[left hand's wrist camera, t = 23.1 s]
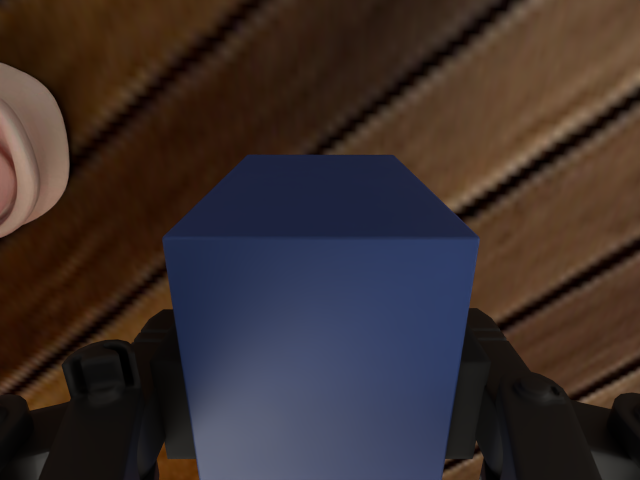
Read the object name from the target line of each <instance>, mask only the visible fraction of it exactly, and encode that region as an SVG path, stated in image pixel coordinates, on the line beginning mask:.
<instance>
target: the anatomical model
mask: <svg viewBox="0 0 640 480" xmlns="http://www.w3.org/2000/svg"><path fill="white" fill-rule="evenodd" d="M68 177H69V149H68V141H67V134H66V129H65V125H64V121H63V117H62V114H61V111H60V109H59V107H58V105H57V102H56V100H55V98H54V97H53V95H52V94H51V93H50V92H49V90H48V89H47V88H46V87H45V86H44V85H43V84H41V83H40V82H39V81H38V80H36V79H35V78H33V77H31V76H30V75H28V74H26V73H24V72H22V71H20V70H17V69H15V68H13V67H11V66H8V65H6V64H3V63H0V238H1V237H3V236H6V235H8V234H10V233H12V232H13V231H15V230H16V229H18V228H19V227H20V226H21V225H23V224H26V223H28V222H30V221H32V220H34V219H36V218H38V217H39V216H41V215H43V214H44V213H45V212H47V211H48V210H49V209H51V208H52V207H53V206H54V205H55V204H56V203H57V201H58V200H59V199H60V197H61V196H62V194H63V192H64V190H65V188H66V185H67V182H68Z"/></svg>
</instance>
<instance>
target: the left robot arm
mask: <svg viewBox="0 0 640 480" xmlns="http://www.w3.org/2000/svg"><path fill="white" fill-rule="evenodd" d="M62 368H63V372H64V375H65V379H66V382H67V386H68V389H69V393H70V396H71V400H70V401H69V402H66V403H62V404H58V405H54V406H49V407H45V408H40V409H36V410H31V411H30V410H29V408H28V405H27V402H26V400H25V399H23V398H22V397H21V396H18V395H11V394H8V395H1V396H0V480H159V470H158V464H157V457H158V455H159V452H160V450H161V448H162V445H163V443H164V442H165V447H166V452H167V458H168V459H196V453H195V447H194V440H193V434H192V427H191V421H190V414H189V408H188V401H187V395H186V389H185V382H184V376H183V369H182V363H181V356H180V350H179V343H178V337H177V331H176V324H175V318H174V311H173V309H163V310H162V311H160V312H159V313H158V314H156V315H155V316H153V317H152V318H150V319H149V320H148V322H147V323H146V324H145V326H144V327H143V328H142V330H141V333H139V334H138V335H137V337H136V338H135V339H134V342H132V343H131V344H130V343H129V342H127V341H122V340H104V341H100V342H96V343H92V344H90V345H87V346H85V347H83V348H80V349H78V350H77V351H76V352H74V353H73V354H71V355H70V356H68V358H67V359H66V360H65V361H64V363H63V364H62ZM476 441H477V443H478V445H479V447H480V450H481V452H482V454H483V457H484V459H483V464H482V469H481V474H480V478H479V480H640V394H638V393H625V394H620V395H619V396H618V397H617V398H615V400H614V403H613V406H612V409H607V408H603V407H598V406H594V405H589V404H585V403H580V402H577V401H573V400H570V399H569V397H568V395H567V394H566V393H565V391H564V390H563V388H561V387H560V386H559V385H558V384H556V383H555V382H554V381H553V380H551V379H549V378H547V377H545V376H543V375H541V374H537V373H533V372H531V371H530V370H529V369H528V367H527V366H526V364H525V363H524V362H523V360H522V359H521V358H520V356H519V355H518V354H517V352H516V351H515V350H514V348H513V347H512V345H511V344H510V343H509V341H507V340H506V337H505V336H504V335H503V333H502V332H501V331H500V329H499V328H498V326H497V325H496V324H495V322H494V321H493V320H492V318H491V317H489V316H488V315H486V314H485V313H483V312H482V311H480V310H479V309H477V308H469V310H468V317H467V323H466V329H465V336H464V342H463V348H462V355H461V361H460V367H459V374H458V380H457V386H456V393H455V399H454V405H453V412H452V418H451V424H450V430H449V437H448V443H447V449H446V456H445V459H473V454H474V449H475V443H476Z"/></svg>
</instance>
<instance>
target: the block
mask: <svg viewBox="0 0 640 480" xmlns="http://www.w3.org/2000/svg"><path fill="white" fill-rule="evenodd" d="M162 240H163V247H164V253H165V260H166V266H167V273H168V279H169V285H170V292H171V298H172V305H173V311H174V318H175V324H176V331H177V337H178V343H179V350H180V356H181V363H182V369H183V376H184V382H185V389H186V395H187V401H188V408H189V414H190V421H191V427H192V434H193V440H194V447H195V453H196V460H197V466H198V472H199V479H200V480H442V475H443V468H444V462H445V456H446V449H447V443H448V437H449V430H450V424H451V418H452V412H453V405H454V399H455V393H456V386H457V380H458V374H459V367H460V361H461V355H462V348H463V342H464V336H465V329H466V323H467V317H468V310H469V304H470V298H471V291H472V285H473V279H474V272H475V266H476V260H477V253H478V247H479V241H480V239H479V237H478V236H477V235H476V234H475V233H474V232H473V231H472V230H471V229H470V228H469V227H468V226H467V225H466V224H465V223H464V222H463V221H462V220H461V219H460V218H459V217H458V216H457V215H455V214H454V213H453V212H452V211H451V210H450V209H449V208H448V207H447V206H446V205H445V204H444V203H443V202H442V201H441V200H440V199H439V198H438V197H437V196H436V195H435V194H434V193H433V192H431V191H430V190H429V189H428V188H427V187H426V186H425V185H424V184H423V183H422V182H421V181H420V180H419V179H418V178H417V177H416V176H415V175H414V174H413V173H412V172H411V171H410V170H409V169H407V168H406V167H405V166H404V165H403V164H402V163H401V162H400V161H399V160H398V159H397V158H396V157H395V156H394V155H247V156H246V157H245V158H244V159H243V160H242V161H241V162H240V163H239V164H238V165H237V166H236V167H235V168H234V169H233V170H232V171H231V172H229V173H228V174H227V175H226V176H225V177H224V178H223V179H222V180H221V181H220V182H219V183H218V184H217V185H216V186H215V187H214V188H213V189H212V190H211V191H210V192H209V193H208V194H207V195H206V196H205V197H204V198H203V199H202V200H201V201H200V202H199V203H198V204H196V205H195V206H194V207H193V208H192V209H191V210H190V211H189V212H188V213H187V214H186V215H185V216H184V217H183V218H182V219H181V220H180V221H179V222H178V223H177V224H176V225H175V226H174V227H173V228H172V229H171V230H170V231H169V232H168V233H167V234H166V235H165V236H163V239H162Z"/></svg>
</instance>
